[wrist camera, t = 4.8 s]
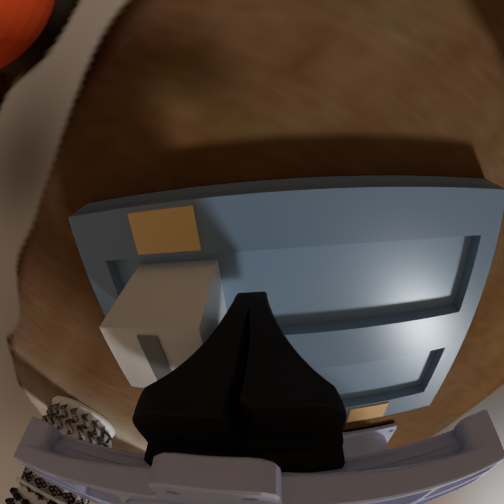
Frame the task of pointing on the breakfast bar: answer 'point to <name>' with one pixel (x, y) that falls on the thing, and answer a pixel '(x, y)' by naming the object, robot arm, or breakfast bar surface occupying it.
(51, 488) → the decorative candle
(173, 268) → the white striped block
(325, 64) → the breakfast bar surface
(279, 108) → the breakfast bar surface
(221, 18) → the breakfast bar surface
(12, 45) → the clementine
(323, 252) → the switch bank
